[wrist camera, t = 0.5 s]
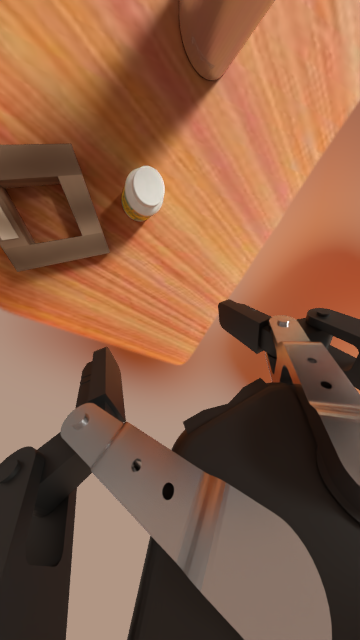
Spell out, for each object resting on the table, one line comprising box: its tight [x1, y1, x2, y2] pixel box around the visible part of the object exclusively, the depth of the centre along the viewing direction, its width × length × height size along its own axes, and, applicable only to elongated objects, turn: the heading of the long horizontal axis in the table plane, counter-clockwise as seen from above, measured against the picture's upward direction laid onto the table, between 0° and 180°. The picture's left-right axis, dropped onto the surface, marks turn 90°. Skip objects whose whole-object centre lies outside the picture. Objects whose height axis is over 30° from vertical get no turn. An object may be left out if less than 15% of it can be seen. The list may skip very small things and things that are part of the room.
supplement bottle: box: [121, 166, 165, 221], centre depth 24 cm, size 5×5×10 cm
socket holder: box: [0, 144, 110, 272], centre depth 23 cm, size 13×13×3 cm
